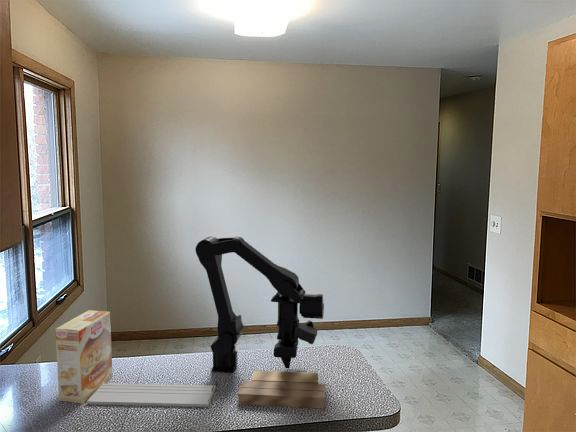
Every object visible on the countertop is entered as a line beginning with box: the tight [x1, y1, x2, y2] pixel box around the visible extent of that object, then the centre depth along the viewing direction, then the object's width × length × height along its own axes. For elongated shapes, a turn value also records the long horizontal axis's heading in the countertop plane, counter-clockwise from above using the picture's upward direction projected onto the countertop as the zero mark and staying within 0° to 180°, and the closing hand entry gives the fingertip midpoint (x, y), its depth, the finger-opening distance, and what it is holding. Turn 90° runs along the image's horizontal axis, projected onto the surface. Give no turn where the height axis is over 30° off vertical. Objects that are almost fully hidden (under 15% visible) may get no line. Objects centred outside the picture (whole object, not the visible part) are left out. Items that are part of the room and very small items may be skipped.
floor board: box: [237, 380, 326, 409], centre depth 122 cm, size 22×8×3 cm, turn 85°
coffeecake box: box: [54, 309, 114, 404], centre depth 125 cm, size 15×7×20 cm, turn 171°
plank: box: [251, 370, 319, 384], centre depth 129 cm, size 18×6×3 cm, turn 87°
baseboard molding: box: [86, 381, 218, 408], centre depth 124 cm, size 31×3×12 cm
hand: (287, 367), depth 137 cm, fingers closed
